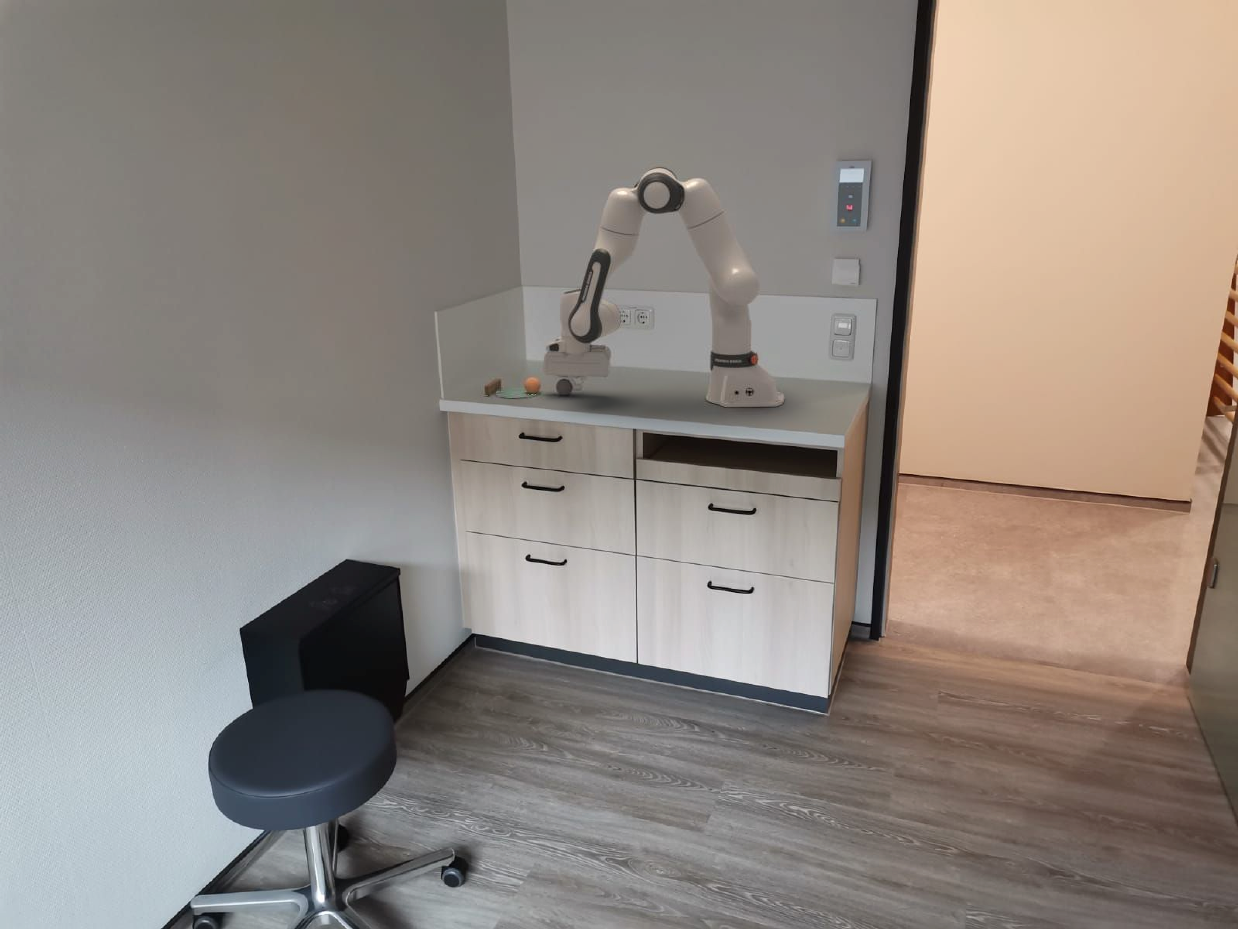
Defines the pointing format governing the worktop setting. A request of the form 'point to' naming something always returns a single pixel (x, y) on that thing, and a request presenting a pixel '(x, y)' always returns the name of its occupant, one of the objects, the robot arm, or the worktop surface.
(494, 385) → the stopper bar
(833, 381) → the worktop surface
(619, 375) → the worktop surface
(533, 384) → the object ball
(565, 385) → the dark gray ball
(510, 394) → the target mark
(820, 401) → the worktop surface
